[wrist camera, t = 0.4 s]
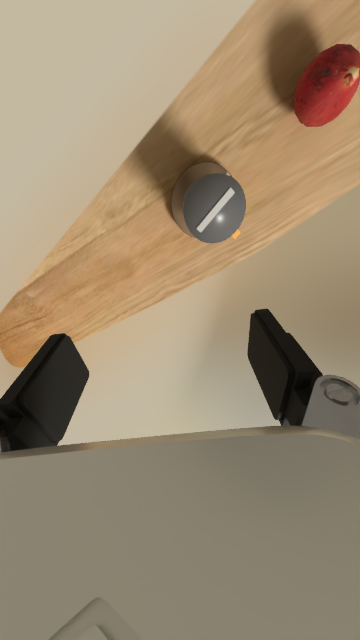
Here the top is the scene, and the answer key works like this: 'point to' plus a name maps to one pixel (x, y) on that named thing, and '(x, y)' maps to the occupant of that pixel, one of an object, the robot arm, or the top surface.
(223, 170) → the post base
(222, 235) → the grey striped cylinder
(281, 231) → the top surface
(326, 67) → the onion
